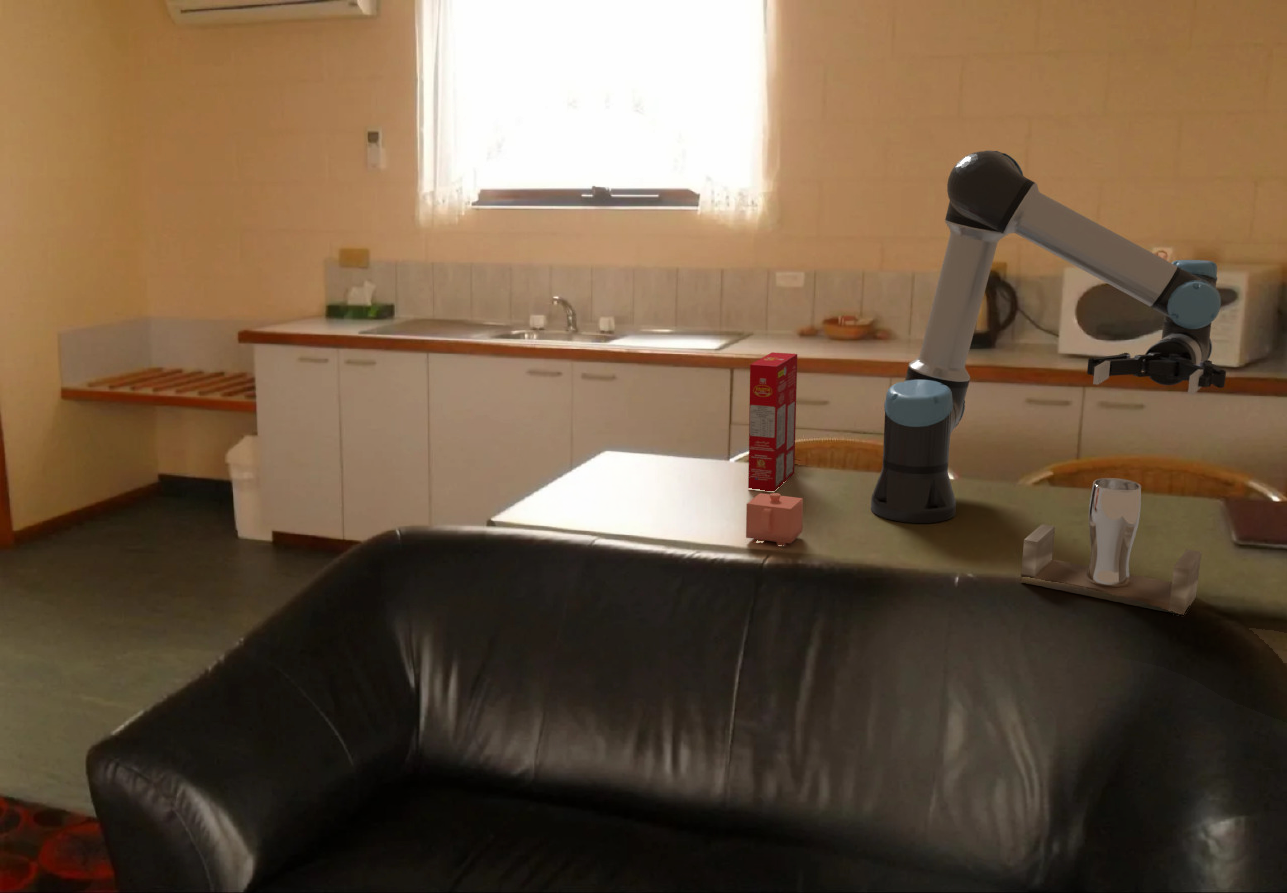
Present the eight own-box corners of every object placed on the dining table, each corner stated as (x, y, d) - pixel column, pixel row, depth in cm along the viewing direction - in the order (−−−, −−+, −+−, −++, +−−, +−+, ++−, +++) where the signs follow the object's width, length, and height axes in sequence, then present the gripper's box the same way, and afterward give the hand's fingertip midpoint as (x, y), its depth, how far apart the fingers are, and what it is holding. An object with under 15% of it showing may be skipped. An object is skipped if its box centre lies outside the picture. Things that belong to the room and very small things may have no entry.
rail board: (1020, 583, 173) (1024, 539, 172) (1038, 566, 181) (1041, 524, 179) (1183, 616, 160) (1189, 569, 159) (1196, 596, 168) (1201, 551, 166)
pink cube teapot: (807, 531, 198) (808, 486, 196) (786, 553, 187) (787, 505, 185) (764, 526, 201) (765, 481, 199) (741, 547, 191) (742, 500, 189)
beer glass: (1108, 591, 166) (1117, 493, 162) (1072, 576, 172) (1081, 481, 168) (1143, 584, 168) (1153, 487, 165) (1107, 568, 175) (1116, 475, 171)
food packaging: (769, 471, 236) (772, 352, 230) (794, 473, 234) (797, 353, 228) (748, 490, 223) (750, 364, 216) (774, 493, 221) (776, 366, 214)
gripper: (1252, 390, 183) (1230, 414, 167) (1092, 374, 197) (1057, 395, 181) (1258, 344, 181) (1236, 363, 165) (1096, 331, 195) (1061, 348, 179)
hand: (1142, 380), depth 173 cm, fingers open, 13 cm apart
